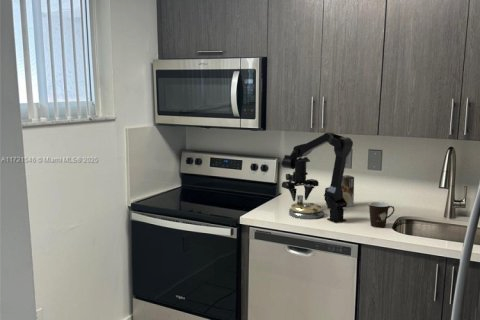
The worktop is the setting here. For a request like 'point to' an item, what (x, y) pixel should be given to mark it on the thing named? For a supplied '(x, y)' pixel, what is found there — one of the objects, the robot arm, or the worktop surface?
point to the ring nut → (305, 207)
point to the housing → (306, 215)
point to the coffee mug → (379, 214)
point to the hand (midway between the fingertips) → (299, 200)
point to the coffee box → (348, 189)
